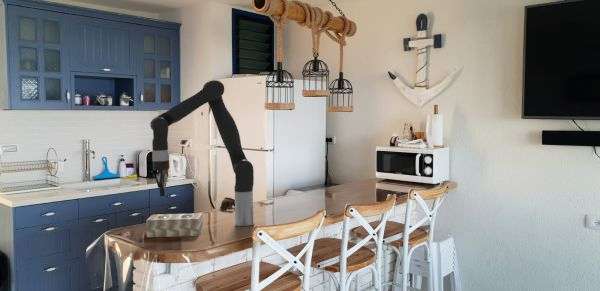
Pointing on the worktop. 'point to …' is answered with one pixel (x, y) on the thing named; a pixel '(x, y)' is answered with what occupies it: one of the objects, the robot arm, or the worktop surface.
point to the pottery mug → (227, 204)
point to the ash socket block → (174, 225)
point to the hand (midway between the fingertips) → (162, 195)
